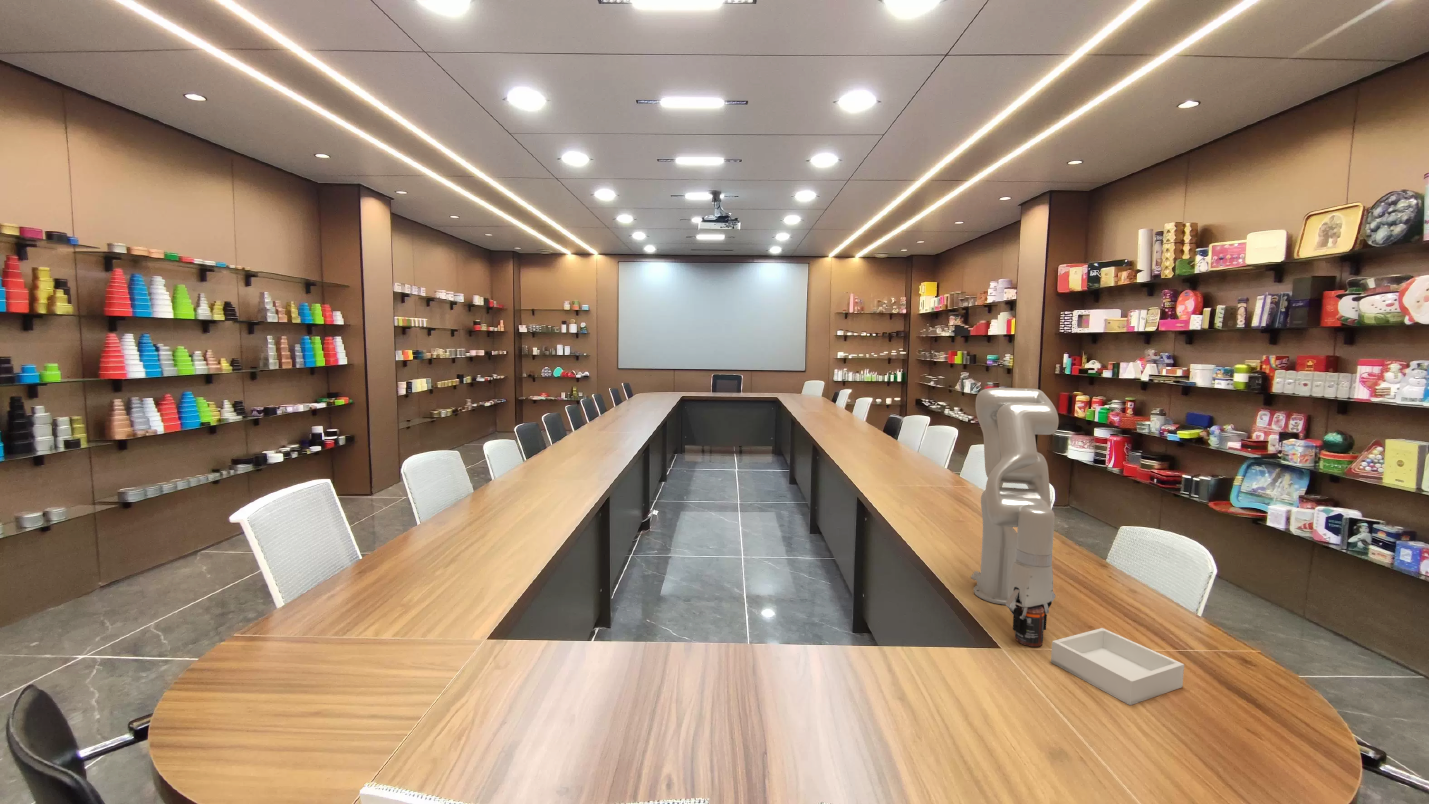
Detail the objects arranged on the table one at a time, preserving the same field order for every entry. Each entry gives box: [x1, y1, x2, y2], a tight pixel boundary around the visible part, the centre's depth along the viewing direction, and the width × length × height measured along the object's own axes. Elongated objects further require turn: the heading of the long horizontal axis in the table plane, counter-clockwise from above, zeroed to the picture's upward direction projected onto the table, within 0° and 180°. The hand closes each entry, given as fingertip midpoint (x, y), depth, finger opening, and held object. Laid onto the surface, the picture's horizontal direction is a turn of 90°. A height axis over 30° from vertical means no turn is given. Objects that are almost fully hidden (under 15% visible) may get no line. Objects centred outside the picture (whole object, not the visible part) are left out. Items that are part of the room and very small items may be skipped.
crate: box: [1050, 627, 1185, 706], centre depth 124 cm, size 17×17×5 cm
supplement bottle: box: [1014, 602, 1045, 648], centre depth 137 cm, size 6×6×11 cm
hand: (1029, 629), depth 138 cm, fingers closed on supplement bottle, 6 cm apart
